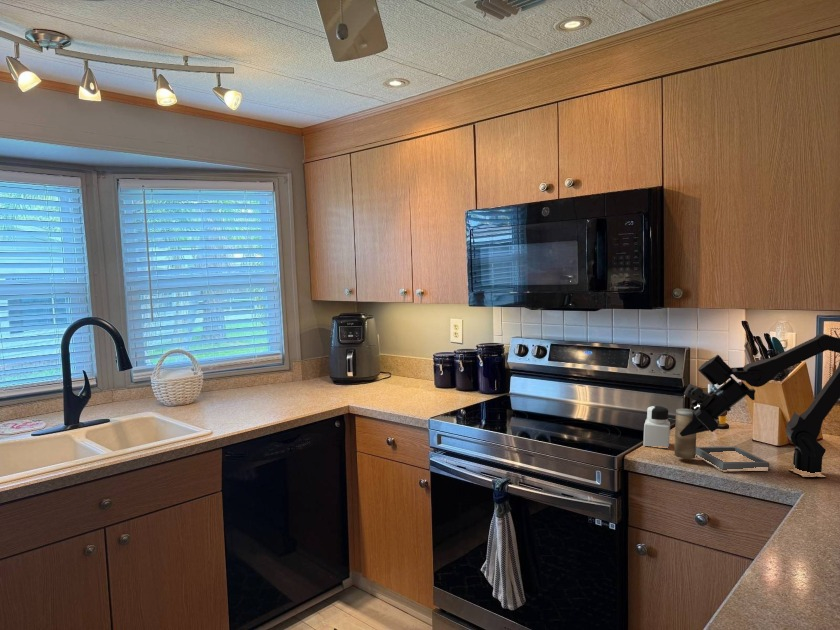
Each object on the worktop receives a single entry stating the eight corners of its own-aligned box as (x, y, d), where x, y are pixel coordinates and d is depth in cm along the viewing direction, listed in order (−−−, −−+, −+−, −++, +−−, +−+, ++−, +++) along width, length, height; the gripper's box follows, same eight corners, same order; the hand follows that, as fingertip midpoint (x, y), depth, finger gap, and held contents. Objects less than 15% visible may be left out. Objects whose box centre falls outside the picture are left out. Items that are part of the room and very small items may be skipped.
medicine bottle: (669, 443, 186) (670, 406, 186) (668, 449, 180) (670, 410, 179) (645, 440, 189) (646, 403, 189) (643, 446, 183) (644, 408, 182)
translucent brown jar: (699, 458, 167) (701, 413, 166) (680, 458, 167) (682, 413, 166) (689, 452, 173) (690, 408, 172) (670, 452, 172) (672, 408, 171)
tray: (768, 471, 161) (769, 462, 161) (722, 472, 160) (723, 463, 160) (735, 454, 176) (735, 446, 176) (693, 455, 175) (693, 446, 175)
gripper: (701, 370, 175) (659, 404, 180) (706, 381, 158) (659, 418, 163) (729, 399, 173) (686, 432, 178) (738, 413, 156) (690, 449, 160)
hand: (680, 432), depth 170 cm, fingers closed on translucent brown jar, 5 cm apart
